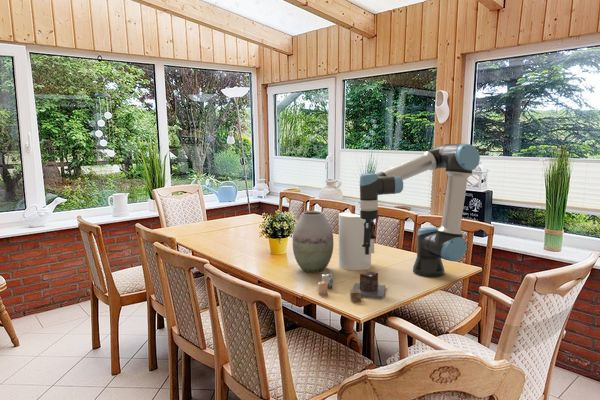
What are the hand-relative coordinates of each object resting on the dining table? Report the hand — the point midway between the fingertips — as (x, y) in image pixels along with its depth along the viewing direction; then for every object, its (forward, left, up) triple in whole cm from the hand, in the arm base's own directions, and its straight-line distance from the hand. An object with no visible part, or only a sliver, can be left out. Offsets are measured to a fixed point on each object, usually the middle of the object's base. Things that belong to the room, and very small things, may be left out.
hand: (369, 257), depth 185 cm
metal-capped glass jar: (+19, -2, -16) cm, 25 cm away
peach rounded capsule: (+19, +7, -16) cm, 26 cm away
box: (0, 0, -15) cm, 15 cm away
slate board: (0, 0, -16) cm, 16 cm away
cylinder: (+12, -39, -16) cm, 44 cm away
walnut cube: (+4, +11, -16) cm, 20 cm away
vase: (+32, -27, -16) cm, 45 cm away
